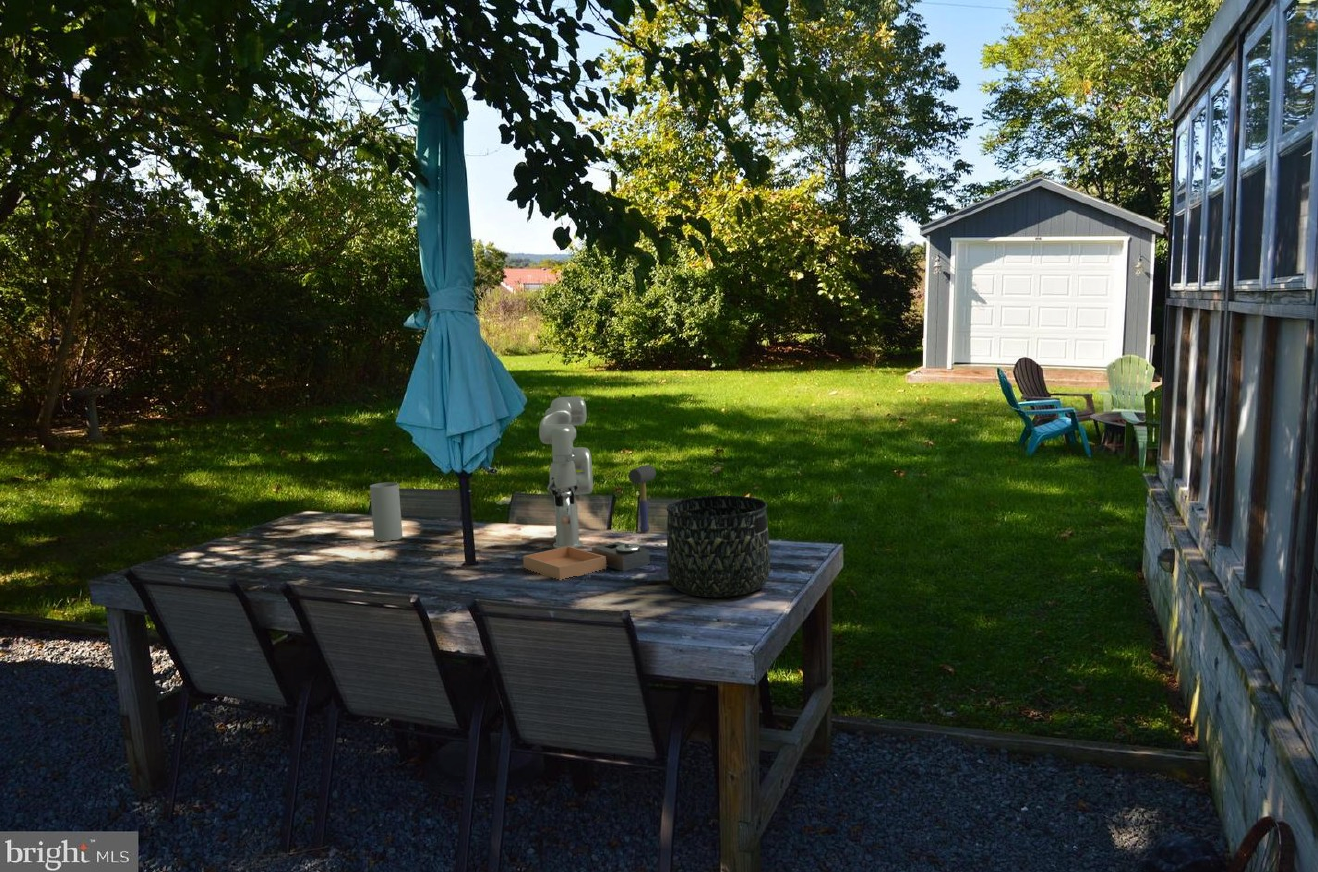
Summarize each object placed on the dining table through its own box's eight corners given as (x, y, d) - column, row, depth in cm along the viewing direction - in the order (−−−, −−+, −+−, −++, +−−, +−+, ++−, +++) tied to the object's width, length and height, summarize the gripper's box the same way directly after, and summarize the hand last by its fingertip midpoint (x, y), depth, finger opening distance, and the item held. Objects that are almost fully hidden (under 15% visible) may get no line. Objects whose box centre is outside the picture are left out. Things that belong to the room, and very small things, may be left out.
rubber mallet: (643, 536, 450) (641, 468, 446) (630, 534, 454) (627, 467, 450) (659, 530, 460) (656, 464, 456) (645, 528, 464) (643, 463, 460)
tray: (523, 568, 403) (523, 555, 403) (569, 557, 417) (568, 545, 416) (560, 580, 384) (559, 567, 383) (606, 569, 397) (605, 556, 396)
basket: (708, 568, 392) (706, 491, 388) (790, 582, 369) (788, 500, 365) (647, 591, 364) (643, 509, 360) (731, 608, 341) (728, 520, 337)
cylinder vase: (368, 541, 460) (364, 487, 457) (383, 535, 472) (379, 482, 469) (393, 542, 456) (388, 487, 453) (407, 536, 468) (403, 482, 465)
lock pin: (556, 523, 399) (554, 491, 397) (567, 521, 402) (566, 489, 400) (564, 525, 395) (562, 493, 393) (575, 523, 398) (574, 491, 396)
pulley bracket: (592, 562, 409) (591, 541, 408) (618, 556, 417) (617, 535, 416) (623, 571, 393) (622, 549, 392) (649, 564, 401) (648, 543, 400)
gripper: (574, 455, 403) (577, 500, 406) (538, 460, 392) (541, 507, 395) (586, 456, 398) (588, 502, 400) (549, 462, 387) (552, 509, 389)
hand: (564, 504), depth 397 cm, fingers closed on lock pin, 5 cm apart
